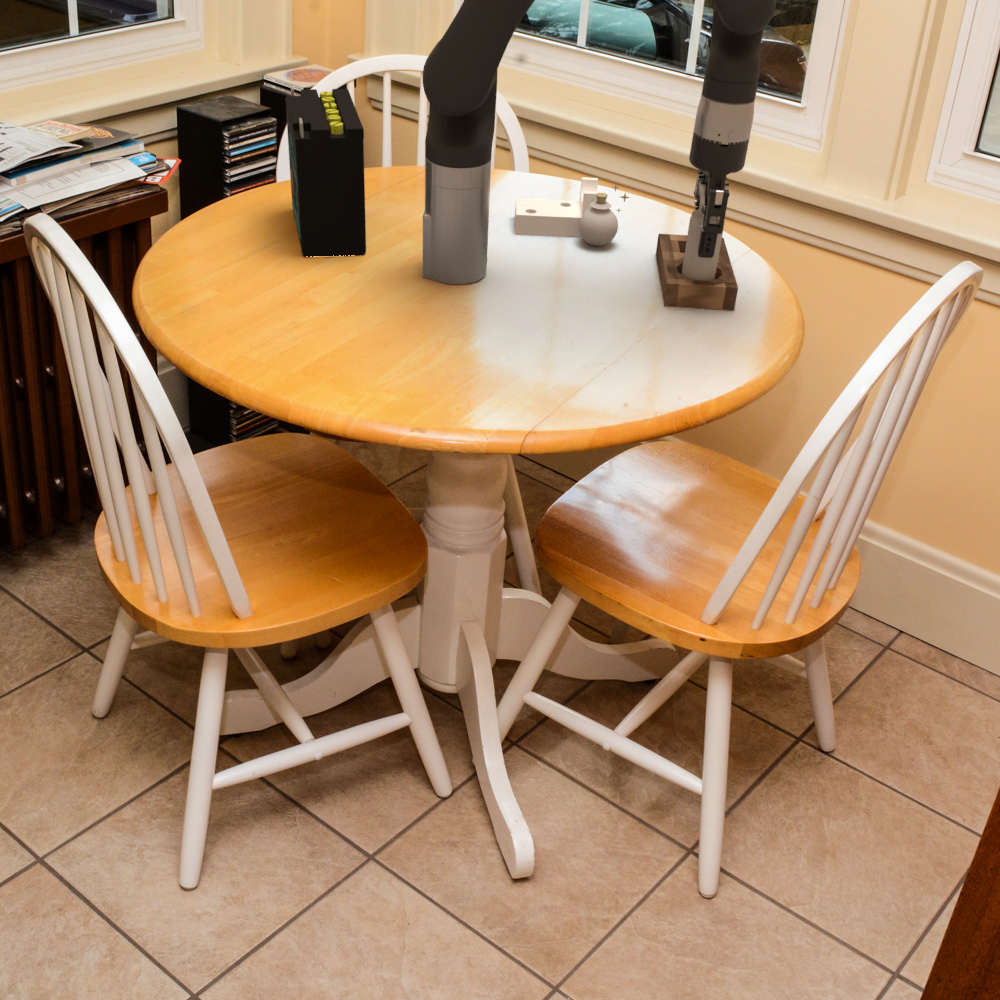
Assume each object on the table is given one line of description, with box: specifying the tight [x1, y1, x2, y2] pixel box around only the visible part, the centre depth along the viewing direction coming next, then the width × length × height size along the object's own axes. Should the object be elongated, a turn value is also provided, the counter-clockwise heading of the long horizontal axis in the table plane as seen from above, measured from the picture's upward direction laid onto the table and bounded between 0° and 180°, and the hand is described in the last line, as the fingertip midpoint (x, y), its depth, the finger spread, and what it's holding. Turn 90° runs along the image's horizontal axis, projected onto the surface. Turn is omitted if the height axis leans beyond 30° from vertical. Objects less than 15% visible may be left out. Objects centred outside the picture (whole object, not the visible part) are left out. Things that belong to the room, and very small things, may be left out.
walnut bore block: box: [655, 233, 739, 312], centre depth 166 cm, size 10×18×4 cm, turn 178°
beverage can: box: [681, 209, 725, 281], centre depth 160 cm, size 5×5×12 cm
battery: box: [284, 84, 367, 258], centre depth 170 cm, size 19×10×20 cm, turn 13°
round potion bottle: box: [579, 184, 631, 247], centre depth 174 cm, size 6×7×10 cm
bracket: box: [514, 176, 602, 239], centre depth 179 cm, size 13×7×8 cm, turn 90°
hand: (702, 244), depth 160 cm, fingers open, 8 cm apart
